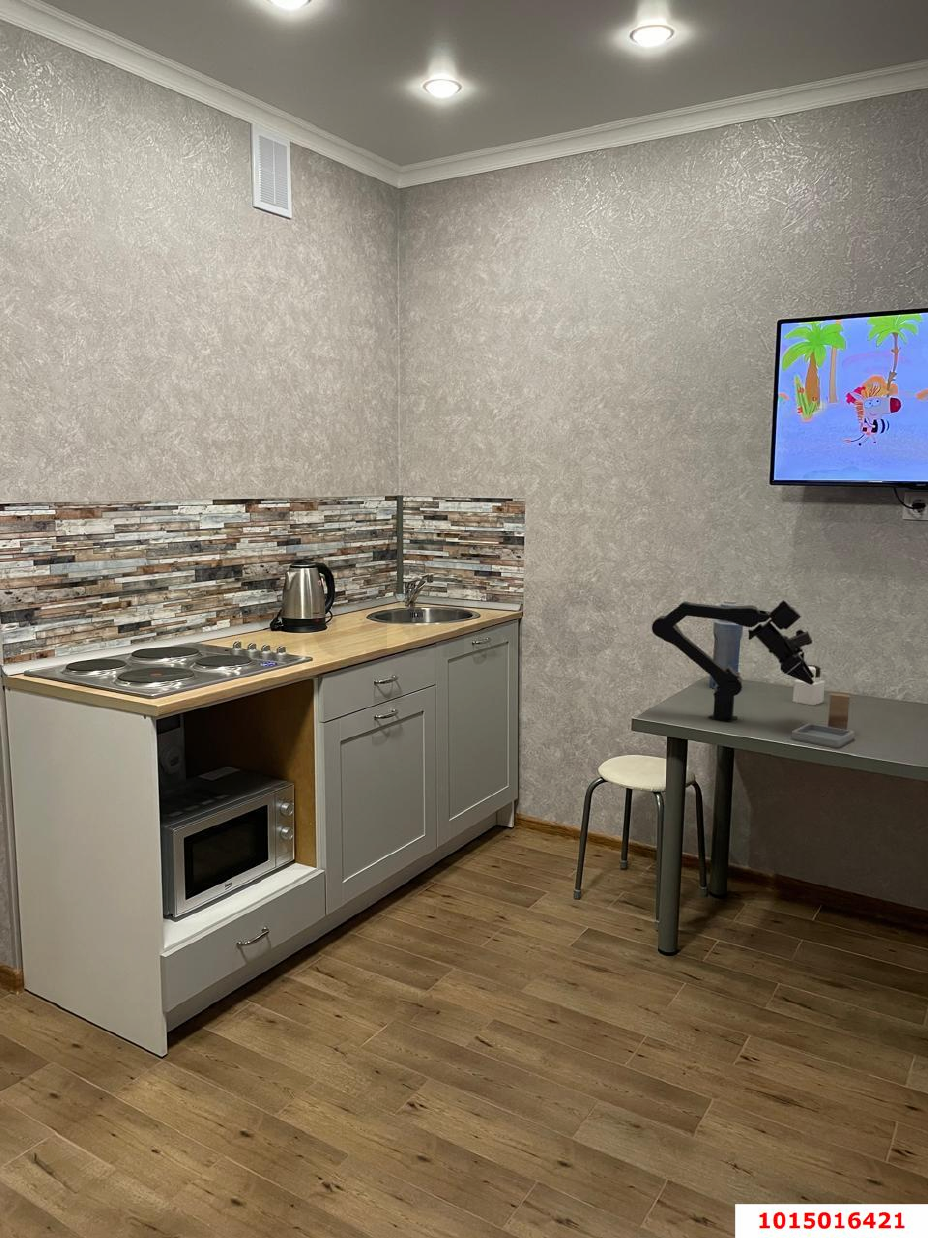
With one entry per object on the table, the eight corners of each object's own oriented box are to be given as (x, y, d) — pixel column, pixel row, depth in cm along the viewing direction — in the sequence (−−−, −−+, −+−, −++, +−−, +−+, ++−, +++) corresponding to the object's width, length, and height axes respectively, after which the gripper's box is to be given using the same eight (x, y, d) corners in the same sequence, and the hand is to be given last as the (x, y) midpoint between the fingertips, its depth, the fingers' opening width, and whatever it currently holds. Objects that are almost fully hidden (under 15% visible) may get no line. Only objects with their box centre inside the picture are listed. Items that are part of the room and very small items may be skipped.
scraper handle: (846, 735, 260) (849, 697, 259) (827, 732, 262) (830, 695, 261) (846, 730, 265) (850, 693, 263) (828, 728, 267) (831, 691, 265)
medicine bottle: (802, 698, 304) (805, 662, 302) (823, 702, 299) (826, 666, 297) (792, 701, 299) (794, 665, 297) (813, 706, 294) (816, 669, 292)
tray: (837, 748, 247) (838, 740, 246) (791, 739, 255) (791, 731, 254) (854, 739, 256) (854, 731, 256) (808, 730, 264) (809, 723, 264)
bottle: (707, 683, 323) (712, 598, 318) (735, 685, 322) (741, 599, 318) (711, 690, 314) (717, 602, 309) (741, 691, 313) (747, 603, 308)
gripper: (794, 626, 256) (835, 668, 254) (796, 617, 274) (834, 656, 271) (763, 653, 260) (804, 694, 258) (767, 642, 277) (804, 681, 275)
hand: (812, 680), depth 265 cm, fingers open, 9 cm apart
